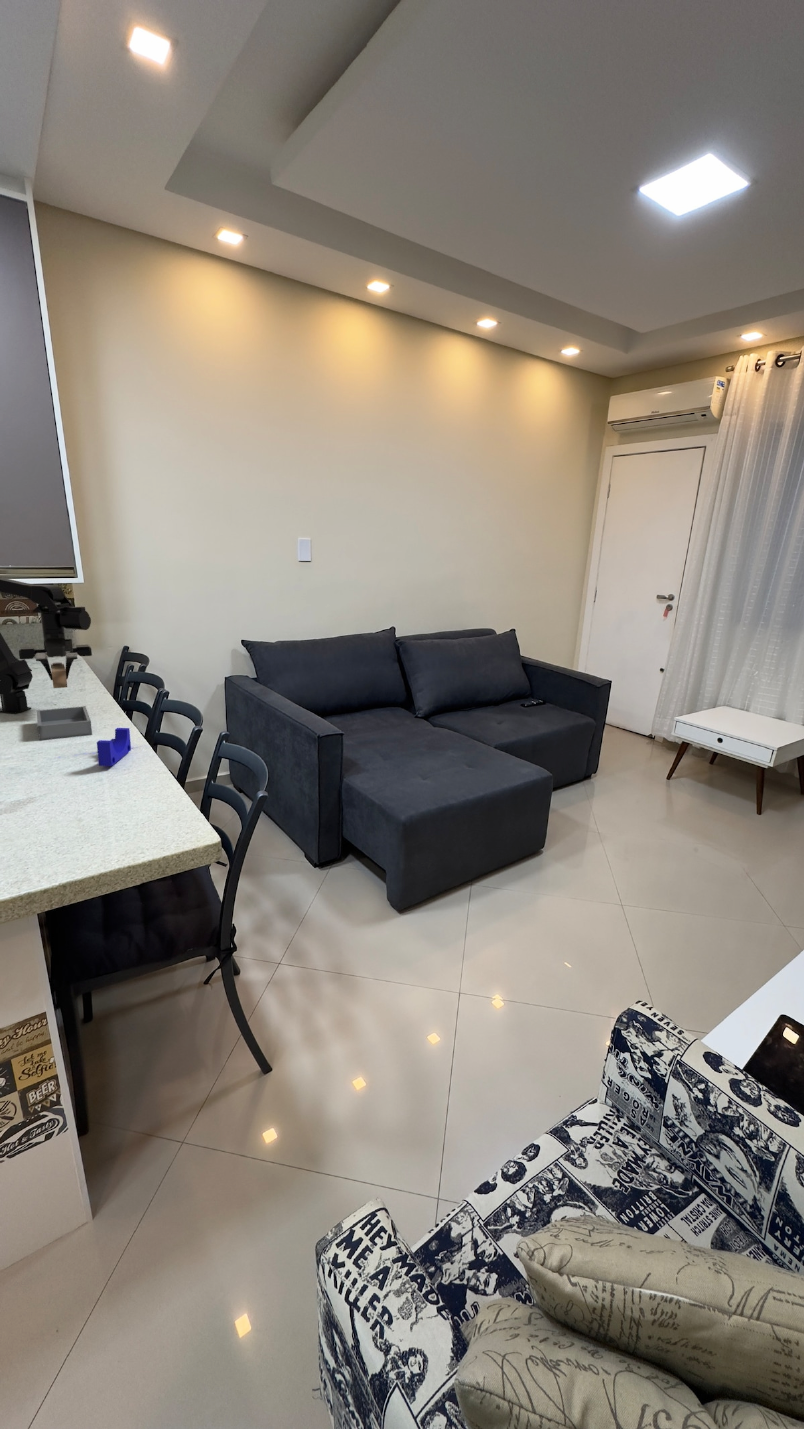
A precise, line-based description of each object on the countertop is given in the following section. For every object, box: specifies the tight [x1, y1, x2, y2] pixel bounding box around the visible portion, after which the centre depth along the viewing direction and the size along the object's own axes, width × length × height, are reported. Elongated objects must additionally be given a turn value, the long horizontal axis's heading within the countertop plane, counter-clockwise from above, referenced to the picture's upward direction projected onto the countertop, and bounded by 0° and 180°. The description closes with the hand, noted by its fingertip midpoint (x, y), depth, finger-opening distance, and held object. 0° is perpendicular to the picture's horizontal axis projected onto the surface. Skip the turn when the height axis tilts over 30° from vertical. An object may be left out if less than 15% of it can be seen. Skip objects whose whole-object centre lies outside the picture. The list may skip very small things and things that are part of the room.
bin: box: [36, 705, 93, 741], centre depth 167 cm, size 18×13×4 cm
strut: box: [50, 662, 68, 689], centre depth 178 cm, size 4×12×6 cm, turn 31°
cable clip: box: [96, 727, 132, 767], centre depth 147 cm, size 12×4×6 cm, turn 3°
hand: (59, 679), depth 178 cm, fingers closed on strut, 4 cm apart
